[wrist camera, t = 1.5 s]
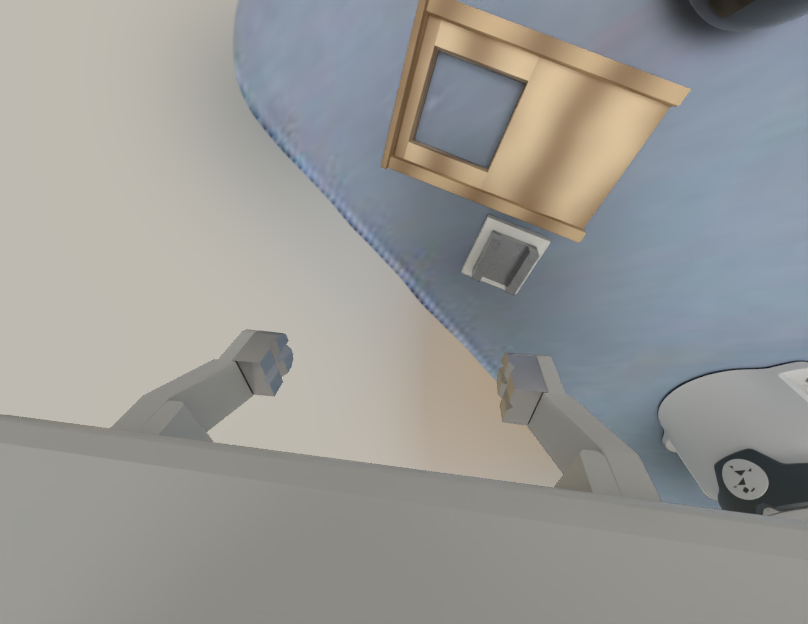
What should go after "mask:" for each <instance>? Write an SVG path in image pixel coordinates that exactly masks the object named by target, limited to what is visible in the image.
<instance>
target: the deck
mask: <svg viewBox="0 0 808 624" xmlns="http://www.w3.org/2000/svg"><path fill="white" fill-rule="evenodd" d="M439 51H441V52H444V53H446V54H449V55H452V56H454V57H457V58H459V59H462V60H465V61H467V62H470V63H472V64H475V65H478V66H480V67H483V68H486V69H488V70H491V71H493V72H496V73H499V74H501V75H504V76H507V77H509V78H512V79H514V80H517V81H520V82H522V83H525V86H524V89H523V91H522V93H521V95H520V98H519V100H518V102H517V104H516V107H515V109H514V111H513V114H512V116H511V118H510V120H509V123H508V125H507V127H506V129H505V132H504V134H503V136H502V138H501V141H500V143H499V145H498V147H497V150H496V152H495V154H494V157H493V159H492V161H491V163H490V166H489V168H488V169H487V168H485V167H482V166H480V165H477V164H475V163H472V162H469V161H467V160H464V159H462V158H459V157H457V156H454V155H451V154H449V153H446V152H444V151H441V150H439V149H436V148H434V147H431V146H428V145H426V144H423V143H421V142H418V141H416V140H414V138H415V135H416V131H417V128H418V124H419V121H420V117H421V113H422V110H423V106H424V103H425V99H426V96H427V92H428V89H429V85H430V81H431V78H432V74H433V71H434V67H435V64H436V60H437V56H438V53H439ZM690 90H691V89H689V88H686V87H684V86H681V85H678V84H676V83H673V82H670V81H668V80H665V79H662V78H660V77H657V76H654V75H652V74H649V73H646V72H644V71H641V70H638V69H636V68H633V67H630V66H628V65H625V64H622V63H620V62H617V61H614V60H612V59H609V58H606V57H604V56H601V55H598V54H596V53H593V52H590V51H588V50H585V49H582V48H580V47H577V46H575V45H572V44H569V43H567V42H564V41H561V40H559V39H556V38H553V37H551V36H548V35H545V34H543V33H540V32H537V31H535V30H532V29H529V28H527V27H524V26H521V25H519V24H516V23H513V22H511V21H508V20H505V19H503V18H500V17H497V16H495V15H492V14H489V13H487V12H484V11H481V10H479V9H476V8H473V7H471V6H468V5H465V4H463V3H460V2H457V1H455V0H419V2H418V7H417V11H416V15H415V20H414V24H413V29H412V33H411V37H410V42H409V46H408V50H407V55H406V59H405V63H404V68H403V72H402V76H401V81H400V85H399V89H398V94H397V98H396V102H395V107H394V111H393V115H392V120H391V124H390V128H389V133H388V137H387V142H386V146H385V150H384V155H383V159H382V163H381V167H382V168H385V169H386V168H390V169H393V170H395V171H398V172H401V173H403V174H406V175H408V176H411V177H413V178H416V179H418V180H421V181H423V182H426V183H429V184H431V185H434V186H436V187H439V188H441V189H444V190H446V191H449V192H451V193H454V194H456V195H459V196H462V197H464V198H467V199H469V200H472V201H474V202H477V203H479V204H482V205H484V206H487V207H490V208H492V209H495V210H497V211H500V212H502V213H505V214H507V215H510V216H512V217H515V218H517V219H520V220H523V221H525V222H528V223H530V224H533V225H535V226H538V227H540V228H543V229H545V230H548V231H550V232H553V233H556V234H558V235H561V236H563V237H566V238H568V239H571V240H573V241H576V242H578V243H580V241H581V240H582V239H583V237H584V236H585V235H586V232H585V231H584V227H585V226H586V224H587V223H588V222H589V220H590V219H591V217H592V216H593V215H594V213H595V212H596V210H597V209H598V208H599V206H600V205H601V203H602V202H603V201H604V199H605V198H606V196H607V195H608V194H609V192H610V191H611V189H612V188H613V187H614V185H615V184H616V182H617V181H618V180H619V178H620V177H621V175H622V174H623V173H624V171H625V170H626V168H627V167H628V166H629V164H630V163H631V161H632V160H633V159H634V157H635V156H636V154H637V153H638V152H639V150H640V149H641V147H642V146H643V145H644V143H645V142H646V140H647V139H648V138H649V136H650V135H651V133H652V132H653V131H654V129H655V128H656V126H657V125H658V124H659V122H660V121H661V119H662V118H663V117H664V115H665V114H666V112H667V111H668V110H669V108H670V107H672V106H679V105H680V104H681V103H682V101H683V100H684V98H685V97H686V96H687V94H688V93H689V92H690Z"/></svg>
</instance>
